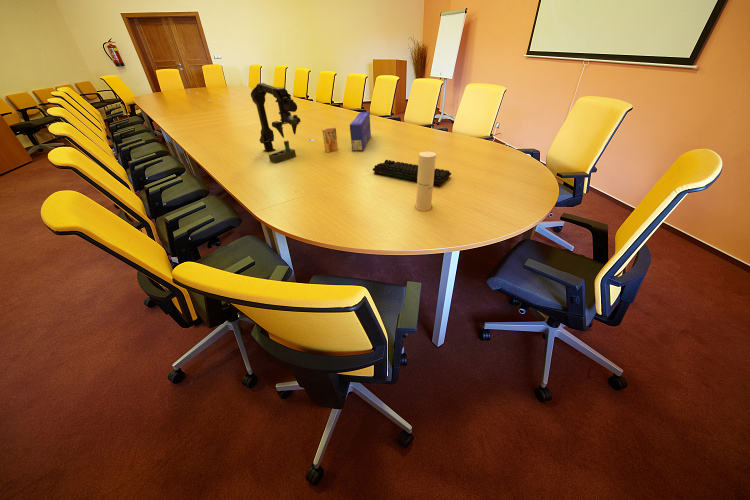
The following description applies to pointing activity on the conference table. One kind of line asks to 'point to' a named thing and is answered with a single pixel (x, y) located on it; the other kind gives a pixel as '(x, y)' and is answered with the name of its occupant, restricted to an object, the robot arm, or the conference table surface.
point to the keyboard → (408, 172)
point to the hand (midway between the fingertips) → (289, 136)
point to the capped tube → (287, 145)
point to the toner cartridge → (360, 131)
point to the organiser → (282, 156)
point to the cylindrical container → (425, 180)
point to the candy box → (330, 139)
